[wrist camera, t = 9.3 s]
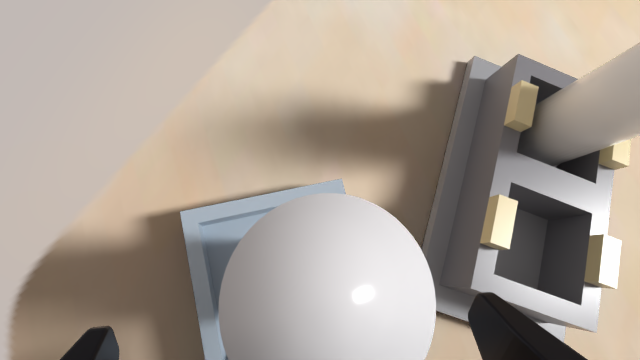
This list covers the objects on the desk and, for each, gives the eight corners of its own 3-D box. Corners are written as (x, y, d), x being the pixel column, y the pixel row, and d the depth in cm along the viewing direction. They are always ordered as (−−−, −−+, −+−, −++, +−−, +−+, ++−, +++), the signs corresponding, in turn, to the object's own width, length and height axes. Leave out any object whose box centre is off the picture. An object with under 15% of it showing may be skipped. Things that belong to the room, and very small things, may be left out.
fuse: (559, 170, 23) (921, 50, 10) (506, 179, 22) (826, 62, 10) (540, 113, 24) (855, -61, 11) (488, 120, 23) (763, -58, 10)
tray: (368, 331, 20) (382, 339, 17) (215, 377, 18) (210, 393, 16) (332, 187, 21) (341, 178, 19) (187, 217, 19) (180, 211, 17)
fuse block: (551, 350, 21) (630, 373, 17) (408, 301, 20) (452, 312, 16) (584, 110, 25) (654, 78, 21) (467, 62, 24) (514, 18, 20)
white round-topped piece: (330, 283, 19) (476, 324, 7) (269, 330, 18) (306, 483, 6) (289, 223, 19) (354, 155, 7) (227, 266, 18) (172, 276, 6)
